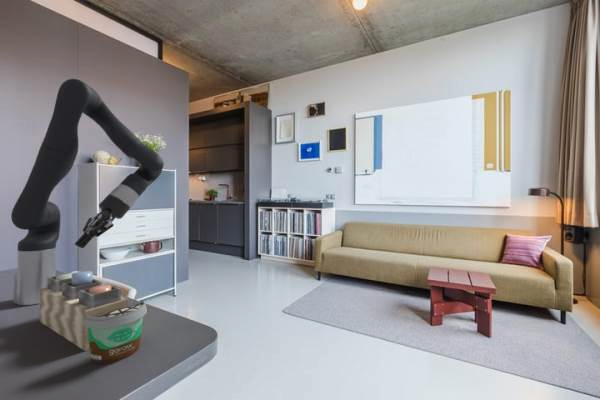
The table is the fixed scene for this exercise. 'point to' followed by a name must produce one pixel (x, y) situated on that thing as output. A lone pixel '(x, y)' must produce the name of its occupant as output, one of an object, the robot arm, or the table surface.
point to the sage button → (64, 276)
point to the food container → (115, 333)
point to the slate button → (82, 278)
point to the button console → (76, 307)
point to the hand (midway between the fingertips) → (78, 246)
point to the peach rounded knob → (99, 289)
